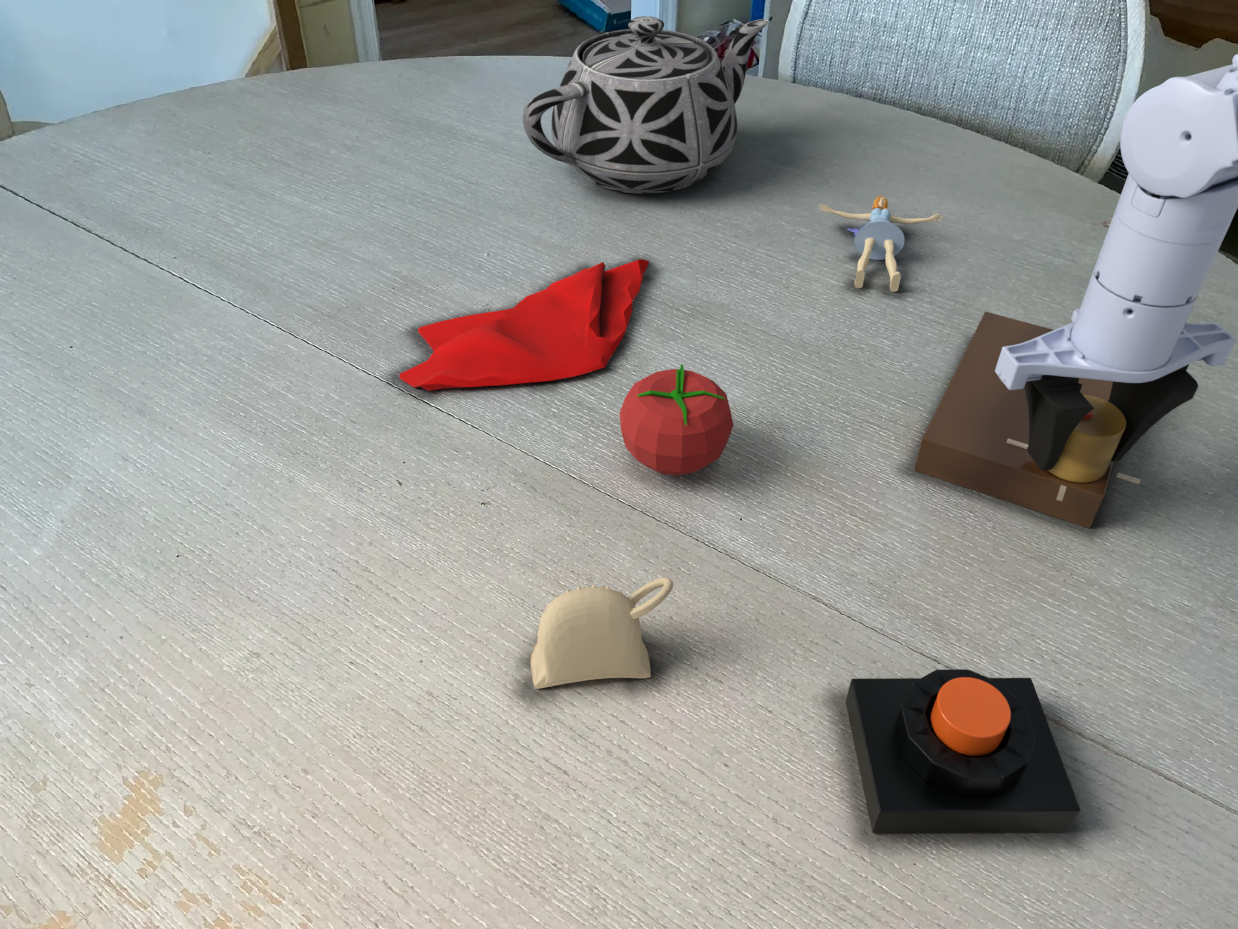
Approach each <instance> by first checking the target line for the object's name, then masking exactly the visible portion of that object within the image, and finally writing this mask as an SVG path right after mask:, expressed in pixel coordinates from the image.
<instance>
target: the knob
mask: <svg viewBox="0 0 1238 929" xmlns="http://www.w3.org/2000/svg"><path fill="white" fill-rule="evenodd" d="M1083 396H1084V397H1085V398H1086V399H1087V400H1088V402H1089V403H1090V404H1091V405H1092V406H1093V408H1094V409H1093V410H1092V411H1090V412H1089V413H1088V414H1087V415H1086V416H1085V417H1084V418H1083V419H1082V420H1081V421H1080V422H1079V424H1078V425H1077V426H1076V427H1075V429H1074V430H1073V432H1072V433H1071V435H1070V436H1069V438H1068V440H1067V442H1066V444H1065V447H1064V449H1063V451H1062V453H1061V456H1060V458H1059V460H1058V462H1057V463H1056V465H1055V466H1054V467H1053V468H1052V469H1051V470H1048V471H1049V472H1050V473H1052V474H1053V475H1055V476H1057V477H1059V478H1061V479H1064V480H1067V481H1071V482H1078V483H1088V482H1093V481H1096V480H1098V479H1100V478H1101V477H1103V476H1104V474H1105V473H1106V471H1107V468H1108V466H1109V464H1110V462H1111V459H1112V457H1113V455H1114V453H1115V450H1116V448H1117V446H1118V444H1119V441H1120V439H1121V437H1122V435H1123V432H1124V430H1125V428H1126V419H1125V416H1124V415H1123V413H1122V412H1121V411H1120V410H1119V409H1118V408H1117V407H1116V406H1114V405H1113V404H1111V403H1110V402H1108V401H1106V400H1103V399H1101V398H1098V397H1094V396H1090V395H1083Z"/></svg>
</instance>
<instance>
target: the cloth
mask: <svg viewBox="0 0 1238 929" xmlns="http://www.w3.org/2000/svg"><path fill="white" fill-rule="evenodd" d="M649 264H650V261H649V260H646V259H644V258H641V259H640V258H639V259H637V260H634V261H631V262H628V263H624V264H621V265H619V266H616V267H613V268H610V269H608V270H606V264H605V263H604V261H602V262H600V263H597V264H595V265H593V266H591V267H589V268H583V269H581V270H580V271H578V272H576V273H574V274H572V275H570V276H567V277H564V278H562V279H559V280H556V281H554V282H552V283H551V284H550V285H549V286H547V287H546V288H544V289H543V290H539V291H537V292H534V293H532V294H529V295H526V296H525V297H524V298H523V299H521V301H519V302H518V303H517V304H516V305H515V306H514V307H511V308H507V309H502V310H495V311H487V312H480V313H475V314H469V315H464V316H459V317H454V318H449V319H445V320H441V321H437V322H434V323H430V324H427V325H422V326H420V327H418V329H417V332H418V333H419V335H420V336H421V337H422V338H423V339H424V341H425V342H426V344H428V345H429V347H430V348H431V349H432V351H433V353H432V354H431V355H430V356H429V358H428V359H427V360H426V361H424V362H421V363H419V364H418V365H415V366H413V367H410V368H408V369H407V370H405V371H403V372H400V373H399V379H400V380H401V381H403V382H404V383H406V384H408V385H409V386H410V387H413V388H419V387H420V388H422V389H424V390H426V391H427V392H429V391H436V390H443V389H455V388H456V389H457V388H461V389H462V388H475V387H476V388H477V387H490V386H491V387H492V386H507V385H509V386H510V385H518V384H519V385H520V384H529V383H540V382H541V383H542V382H549V381H556V380H562V379H567V378H572V377H577V376H582V375H584V374H588V373H591V372H594V371H597V370H602V369H604V368H606V367H607V365H608V363H609V361H610V359H611V357H613V354H614V353H615V351H616V350H617V348H618V347H619V345H620V343H621V342H622V340H623V339H624V336H625V334H626V331H627V329H628V325H629V322H630V319H631V316H632V313H633V301H634V300H635V298H636V297H637V296H638V294H639V292H641V291H640V290H641V286H642V283H643V279H644V276H645V272H646V270H647V268H648V266H649Z"/></svg>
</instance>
